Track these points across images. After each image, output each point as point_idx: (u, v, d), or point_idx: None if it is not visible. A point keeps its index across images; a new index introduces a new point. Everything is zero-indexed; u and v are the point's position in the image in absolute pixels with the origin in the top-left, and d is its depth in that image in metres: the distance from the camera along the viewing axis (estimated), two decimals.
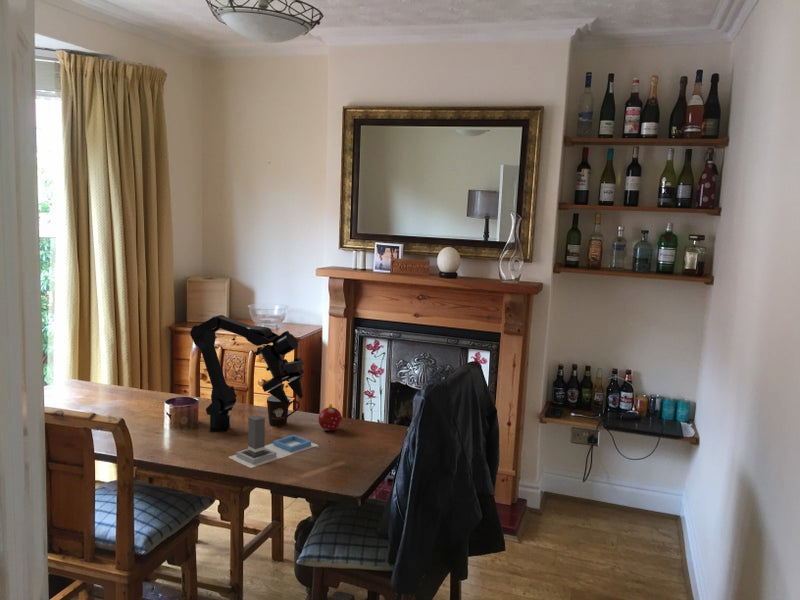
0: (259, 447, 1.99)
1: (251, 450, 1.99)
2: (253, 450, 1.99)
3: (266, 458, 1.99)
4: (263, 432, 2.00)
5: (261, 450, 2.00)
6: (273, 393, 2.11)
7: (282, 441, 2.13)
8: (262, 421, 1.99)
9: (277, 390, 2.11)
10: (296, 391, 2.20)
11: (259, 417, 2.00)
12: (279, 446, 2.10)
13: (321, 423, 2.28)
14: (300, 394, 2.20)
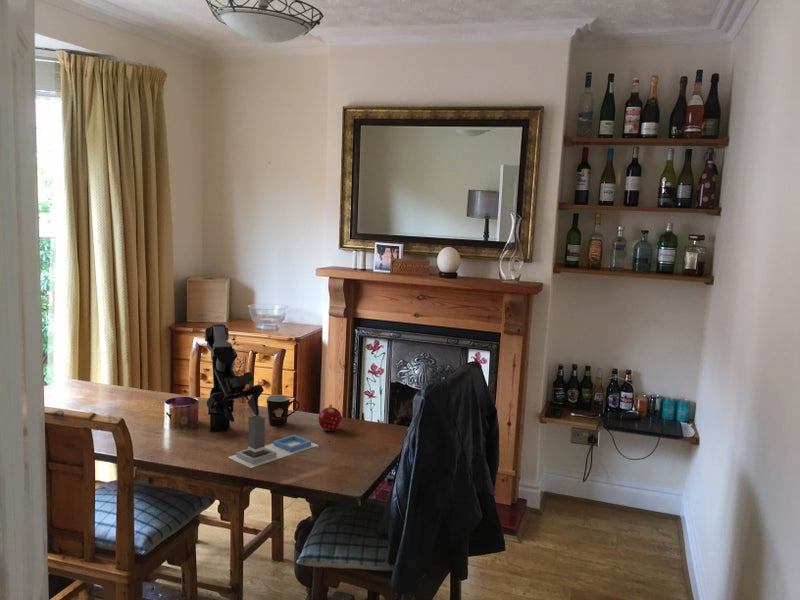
0: (259, 447, 1.99)
1: (251, 450, 1.99)
2: (253, 450, 1.99)
3: (266, 458, 1.99)
4: (263, 432, 2.00)
5: (261, 450, 2.00)
6: (219, 410, 2.02)
7: (282, 441, 2.13)
8: (262, 421, 1.99)
9: (222, 406, 2.02)
10: (253, 409, 2.08)
11: (259, 417, 2.00)
12: (279, 446, 2.10)
13: (321, 423, 2.28)
14: (256, 411, 2.07)
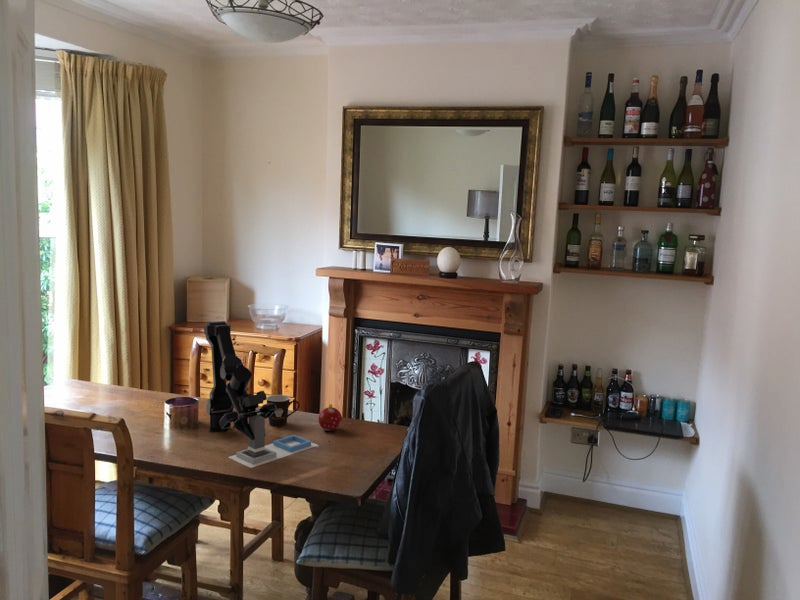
0: (259, 447, 1.99)
1: (251, 450, 1.99)
2: (253, 450, 1.99)
3: (266, 458, 1.99)
4: (263, 432, 2.00)
5: (261, 450, 2.00)
6: (239, 428, 2.00)
7: (282, 441, 2.13)
8: (262, 421, 1.99)
9: (242, 425, 1.99)
10: None
11: (259, 417, 2.00)
12: (279, 446, 2.10)
13: (321, 423, 2.28)
14: None
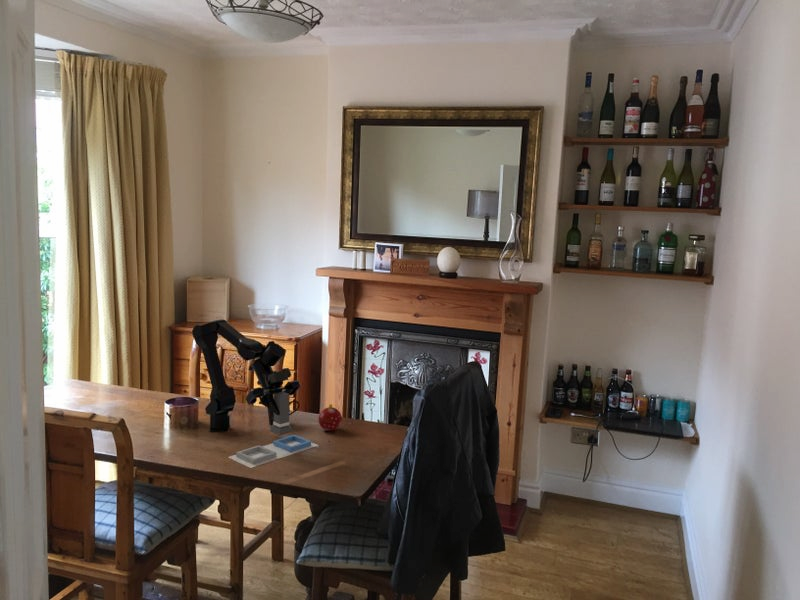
0: (284, 422, 2.06)
1: (276, 425, 2.06)
2: (278, 425, 2.05)
3: (266, 458, 1.99)
4: (288, 408, 2.07)
5: (286, 425, 2.07)
6: (265, 404, 2.07)
7: (282, 441, 2.13)
8: (287, 397, 2.06)
9: (268, 400, 2.06)
10: None
11: (284, 393, 2.07)
12: (279, 446, 2.10)
13: (321, 423, 2.28)
14: None
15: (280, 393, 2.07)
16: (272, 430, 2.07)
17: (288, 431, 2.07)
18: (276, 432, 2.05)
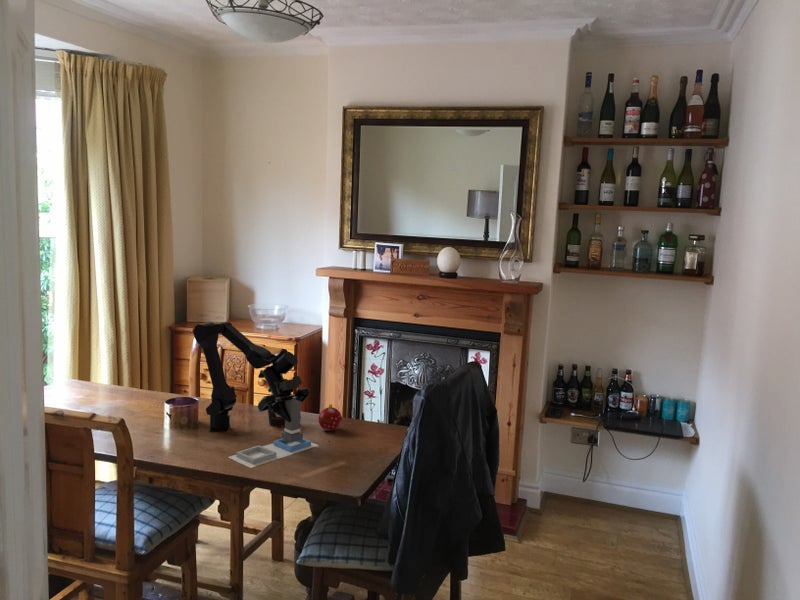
0: (295, 429, 2.10)
1: (287, 432, 2.10)
2: (290, 432, 2.10)
3: (266, 458, 1.99)
4: (299, 415, 2.11)
5: (297, 432, 2.11)
6: (276, 411, 2.11)
7: (282, 441, 2.13)
8: (298, 405, 2.10)
9: (279, 408, 2.10)
10: None
11: (295, 400, 2.11)
12: (279, 446, 2.10)
13: (321, 423, 2.28)
14: None
15: (291, 400, 2.11)
16: (283, 437, 2.11)
17: (299, 438, 2.11)
18: (287, 439, 2.10)
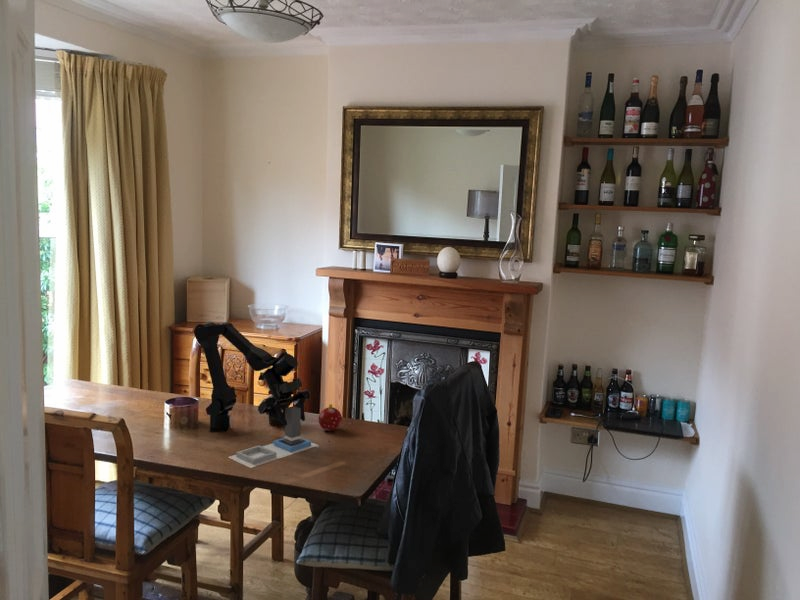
0: (295, 436, 2.11)
1: (288, 439, 2.11)
2: (290, 439, 2.10)
3: (266, 458, 1.99)
4: (299, 422, 2.11)
5: (297, 439, 2.11)
6: (272, 414, 2.10)
7: None
8: (298, 412, 2.10)
9: (275, 411, 2.09)
10: None
11: (295, 408, 2.11)
12: (279, 446, 2.10)
13: (321, 423, 2.28)
14: (302, 417, 2.13)
15: (291, 407, 2.11)
16: None
17: None
18: None
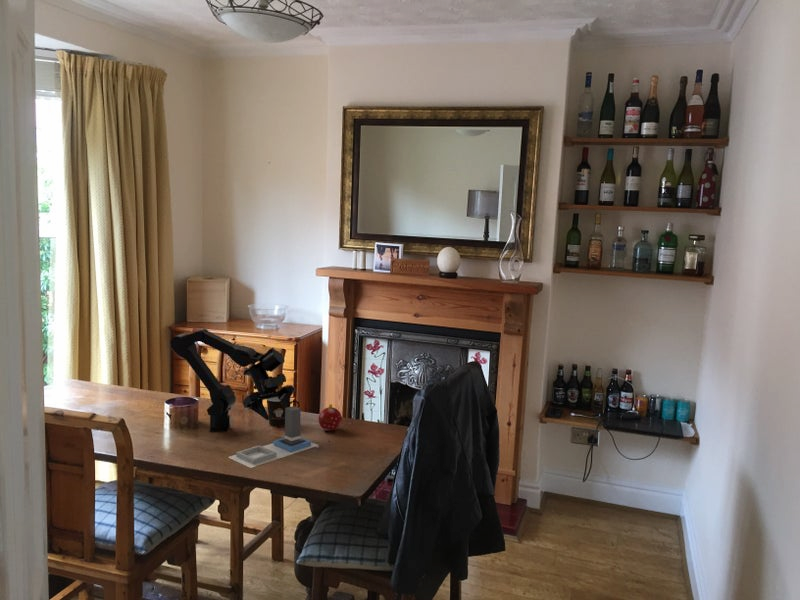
0: (295, 436, 2.11)
1: (288, 439, 2.11)
2: (290, 439, 2.10)
3: (266, 458, 1.99)
4: (299, 422, 2.11)
5: (297, 439, 2.11)
6: (254, 409, 2.15)
7: None
8: (298, 412, 2.10)
9: (257, 406, 2.14)
10: None
11: (295, 408, 2.11)
12: (279, 446, 2.10)
13: (321, 423, 2.28)
14: None
15: (291, 407, 2.11)
16: None
17: None
18: None
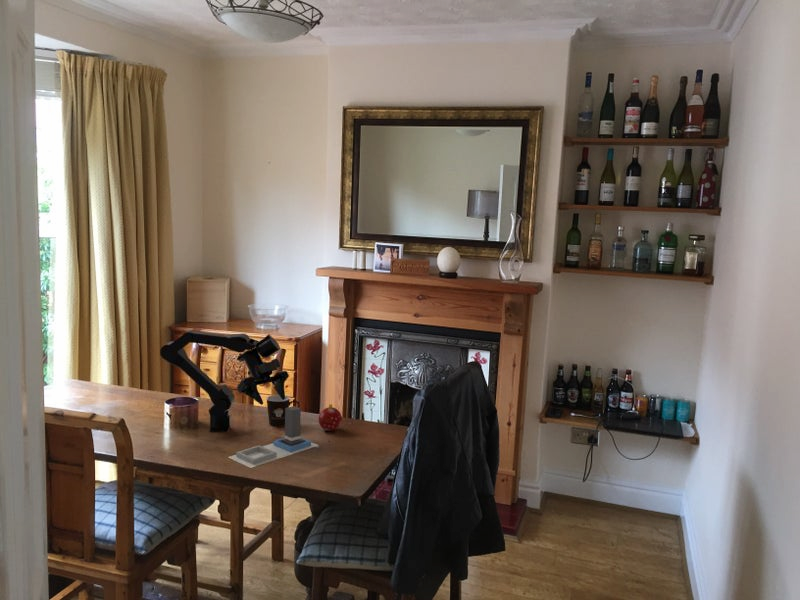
0: (295, 436, 2.11)
1: (288, 439, 2.11)
2: (290, 439, 2.10)
3: (266, 458, 1.99)
4: (299, 422, 2.11)
5: (297, 439, 2.11)
6: (249, 394, 2.17)
7: None
8: (298, 412, 2.10)
9: (252, 390, 2.17)
10: (279, 393, 2.24)
11: (295, 408, 2.11)
12: (279, 446, 2.10)
13: (321, 423, 2.28)
14: (282, 395, 2.22)
15: (291, 407, 2.11)
16: None
17: None
18: None
